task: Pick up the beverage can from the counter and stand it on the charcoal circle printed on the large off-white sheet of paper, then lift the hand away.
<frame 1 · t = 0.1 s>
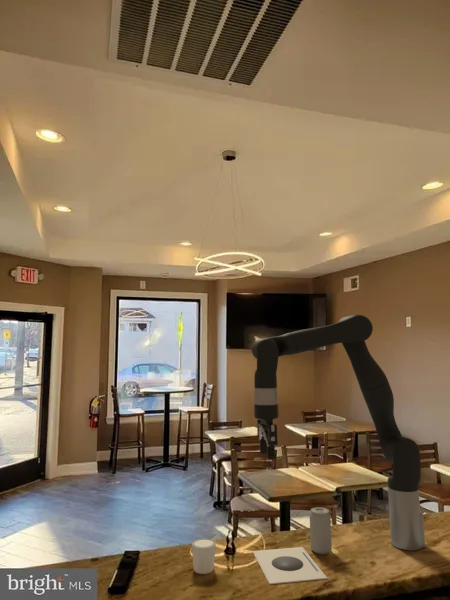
hand: (267, 456, 137), 29 cm above the worktop, tool pointing down, fingers open, 8 cm apart
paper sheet: (287, 564, 129), on the worktop
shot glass: (203, 569, 127), on the worktop
beverage can: (321, 551, 138), on the worktop
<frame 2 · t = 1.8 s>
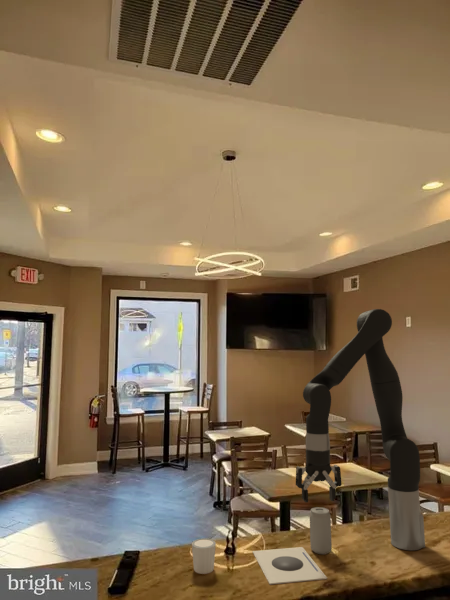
hand: (318, 500, 140), 15 cm above the worktop, tool pointing down, fingers open, 8 cm apart
nothing on the worktop moved.
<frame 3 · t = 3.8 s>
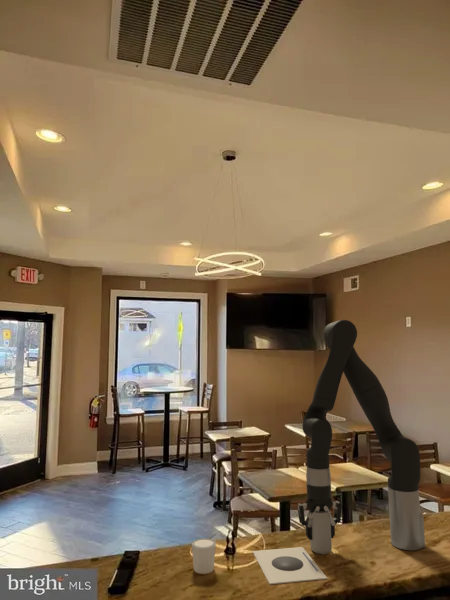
hand: (320, 538, 138), 4 cm above the worktop, tool pointing down, fingers closed on beverage can, 6 cm apart
beverage can: (321, 551, 138), on the worktop, touching gripper
everything else where it was.
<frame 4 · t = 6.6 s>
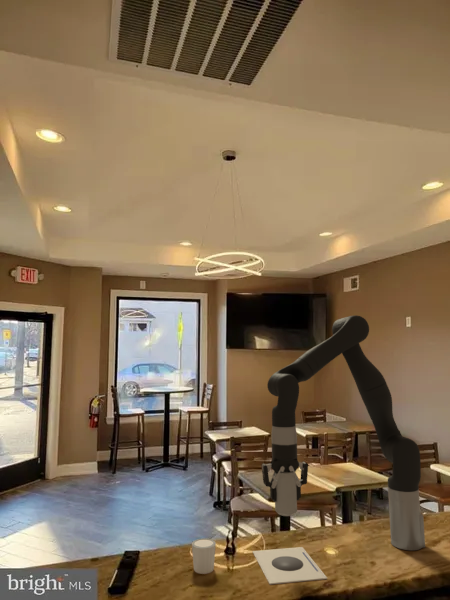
hand: (285, 500, 131), 18 cm above the worktop, tool pointing down, fingers closed on beverage can, 6 cm apart
beverage can: (286, 513, 131), point 14 cm above the worktop, touching gripper
everything else where it was.
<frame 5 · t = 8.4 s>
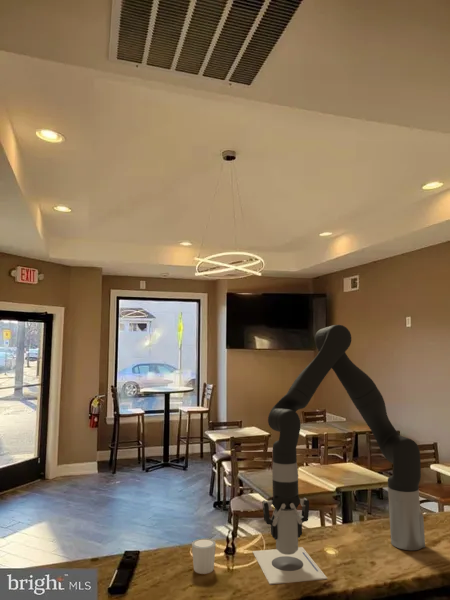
hand: (286, 537, 130), 7 cm above the worktop, tool pointing down, fingers closed on beverage can, 6 cm apart
beverage can: (287, 551, 129), point 4 cm above the worktop, touching gripper
everything else where it was.
when the fingers open (5 cm above the worktop, at t = 9.9 s): beverage can stays where it is, resting on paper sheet.
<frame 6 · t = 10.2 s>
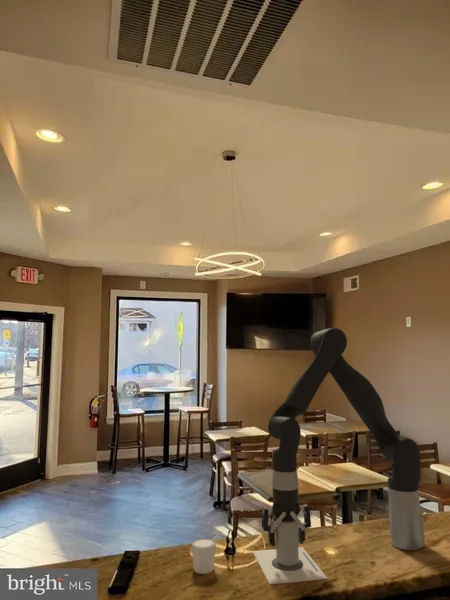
hand: (286, 544, 129), 6 cm above the worktop, tool pointing down, fingers open, 8 cm apart
beverage can: (287, 563, 129), resting on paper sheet
everything else where it was.
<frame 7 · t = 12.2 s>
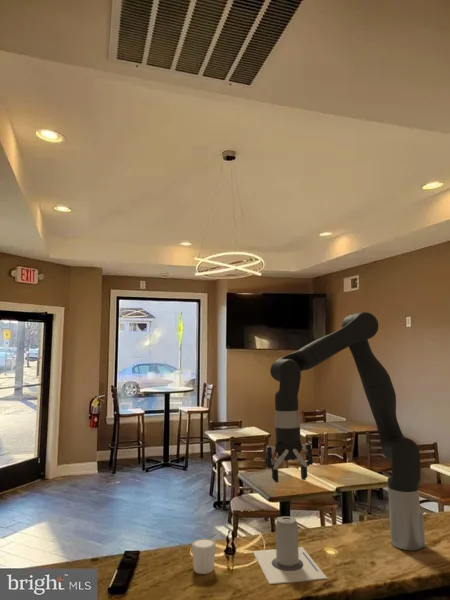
hand: (289, 480, 134), 23 cm above the worktop, tool pointing down, fingers open, 8 cm apart
nothing on the worktop moved.
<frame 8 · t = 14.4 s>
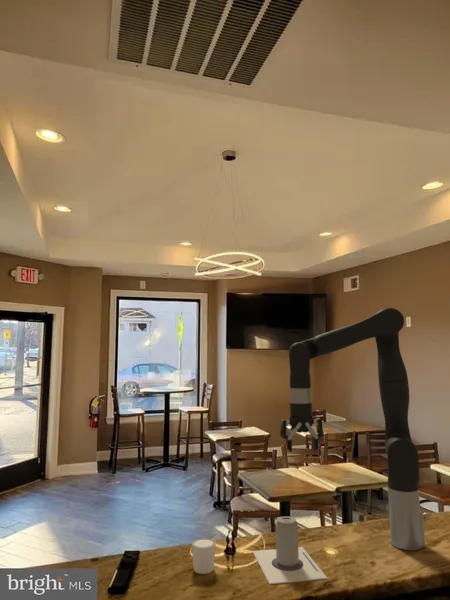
hand: (302, 450, 150), 28 cm above the worktop, tool pointing down, fingers open, 8 cm apart
nothing on the worktop moved.
at the end: beverage can 0.1 cm off-centre on the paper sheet, point 0.2 cm above the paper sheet's base; beverage can tilted 0°; the gripper is holding nothing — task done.
